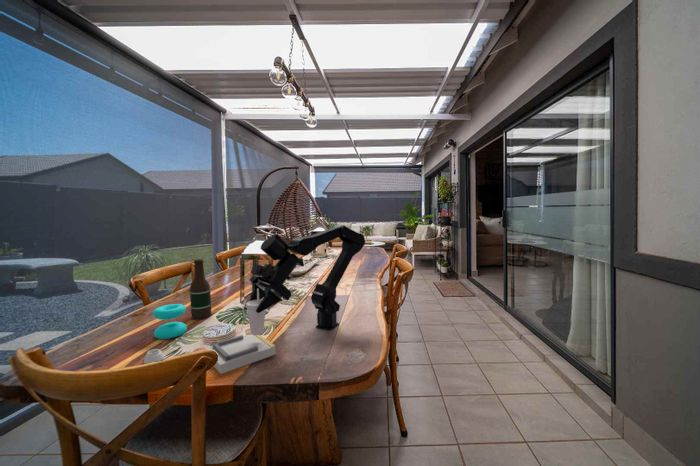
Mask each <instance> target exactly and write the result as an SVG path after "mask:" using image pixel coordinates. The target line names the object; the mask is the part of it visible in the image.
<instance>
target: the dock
mask: <svg viewBox="0 0 700 466" xmlns="http://www.w3.org/2000/svg"><path fill="white" fill-rule="evenodd" d="M205 349H212V350H215V351H216V352H217V353H218V361H217V363H216V365H215V366H213V367H214V369H215V370H216V371H217V372H218V374H220V375H222V374H225V373H227V372H231V371H233V370H236V369H239V368H242V367H244V366H247V365H250V364H253V363H256V362H258V361H261V360H264V359H266V358H270V357H273V356H275V355H277V352H276V351H277V350H276V349H277V348H276V345H275V344H274V343H272V342H271V341H269V339H266V338H265V337H263V336H262V334H260V335H252V334H251V333H250V334H248V335H242V334H241V335H237V336H235V337H231V338H227V339H224V340H220V341H217V342H213V343H212V344H211V345H209V346H206V347H204V350H205Z"/></svg>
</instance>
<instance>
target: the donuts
mask: <svg viewBox="0 0 700 466" xmlns="http://www.w3.org/2000/svg"><path fill="white" fill-rule="evenodd" d="M186 310H187V309H186V305H184V304H183V303H182V304H181V303H171V304H165V305H162V306H159V307H157V308H155V309H154V310H153V311H152V316H153V317H154V318H155V319H158V320H161V321H165V320H166V321H167V320H172V319H176V318H179V317H181V316H182V315H184V313H185V312H186ZM187 329H188V326H187V325H186V324H185V323H184V322H181V321H171V322H167V323H164V324H161V325H159V326H158V327H157V328H155V330H154V332H153V336H154V337H155V338H157V339H159V340H167V339H168V340H169V339H172V338H173V339H174V338H177V337H180V336H182V335H183V334H185V333H186V332H187Z"/></svg>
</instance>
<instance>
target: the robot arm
mask: <svg viewBox="0 0 700 466" xmlns="http://www.w3.org/2000/svg"><path fill="white" fill-rule="evenodd" d="M336 239H339V240H340V241H341V242H342V243H341V251H340V253H339V256H338V257H337V258H336V261H335V262H334V264H333V265H332V268H331V269H330V271H329V273H328V275H327V277H326V278H325V281H323V283H317V284H316V285H315V287H314V289H313V290H312V292H311V294H312V295H311V296H310V299H311V303H312V304H313V305H314V308H315V309H316V310H317V313H316V317H317V318H316V322H317V323H316V325H315V328H317V329H323V330H327V331H331V330H333V329H334V328H336V327H337V326H339V324H340V323H339V322H337V321H338V320H337V317H338V316H337V312H340V308H341V305H340V303H338V302H337V301H336V299H337V287H338V285H339V284H340V281H341V280H342V277H343V276H344V275H345V273H346V271H347V268H348V267H349V265H350V263H351V261H352V259H353V258H354V256H355V255H356V254H358V253H359V252H361V250H362V249H363V247H365V244H366V238H365V236H364V234H363V233H359V232H357V231H355V230H353V229H351V228H349V227H347V225H344V224H343V225H342V224H338V225H337V224H336V225H335V226H333V227H330V228H328V229H325V230H322V231H320V232H317V233H315V234H312V235H307V236H306V235H305V236H298V237H294V238H291V240H290V241H288V242H285V241H284V240H283V239H282V238H281V237H280V235H279V234H277V233H273V235H272V236H270V237H268V238H266V239H265V240H264V241H263V242H262V243H261V244H260V250H261V251H263V252H264V253H265V254H266V255H267V256H268V257H269V258H270V259H271V260H272V261H277V260H278V261H277V262H276V263H275V264H274V265H272V264H269V263H264V265H261V264H258V263H253V265H252V268H251V270H250V274H253V275H252V276H251V277H250V278H249V282H250V283H251V286H252V292H251V294H250V297H249V300H248V301H251V300H257V288H259V300H262V301H261V303H260V304H259V306H258V308H257V310H256V312H257V313H260V312H262V311H263V310H265V309H266V310H267V309H268V308H270V307H272V306H274V305H276V304H278V303H280V302H283V300H285V301H288V302H289V300H290V298H291V297H292V291H291V290H290V289H289V288H288V287H286V286H285V285H284V283H285V282H286V281H290V280H291V278H292V277H291V276H290V275H291V274H292V272H293V271H294V270H295V269H296V267H297V266H299V267H304V266H305V264H304V259H303V258H302V257H299V256H308V255H309V254H311V253H312V252H314V251H315V250H316V249H317V248H318V247H320V246H322V245H324V244H326V243H328V242H331V241H333V240H336ZM297 255H298V256H297Z"/></svg>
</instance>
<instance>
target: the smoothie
mask: <svg viewBox="0 0 700 466" xmlns="http://www.w3.org/2000/svg"><path fill="white" fill-rule="evenodd" d="M262 300H263V299H261V300H259V288H257V300H251V301H249V300H248V301H247V302H246V303H245V308H246V311H247V317H248V323H249V329H250V334H252V335H262V334H264V329H265V321H266V320H265V319H266V311H267V309H265V310H263V311H262V312H260V313H257V312H256V310H257V308H258V306H259V304H260V303H261V301H262Z"/></svg>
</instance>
